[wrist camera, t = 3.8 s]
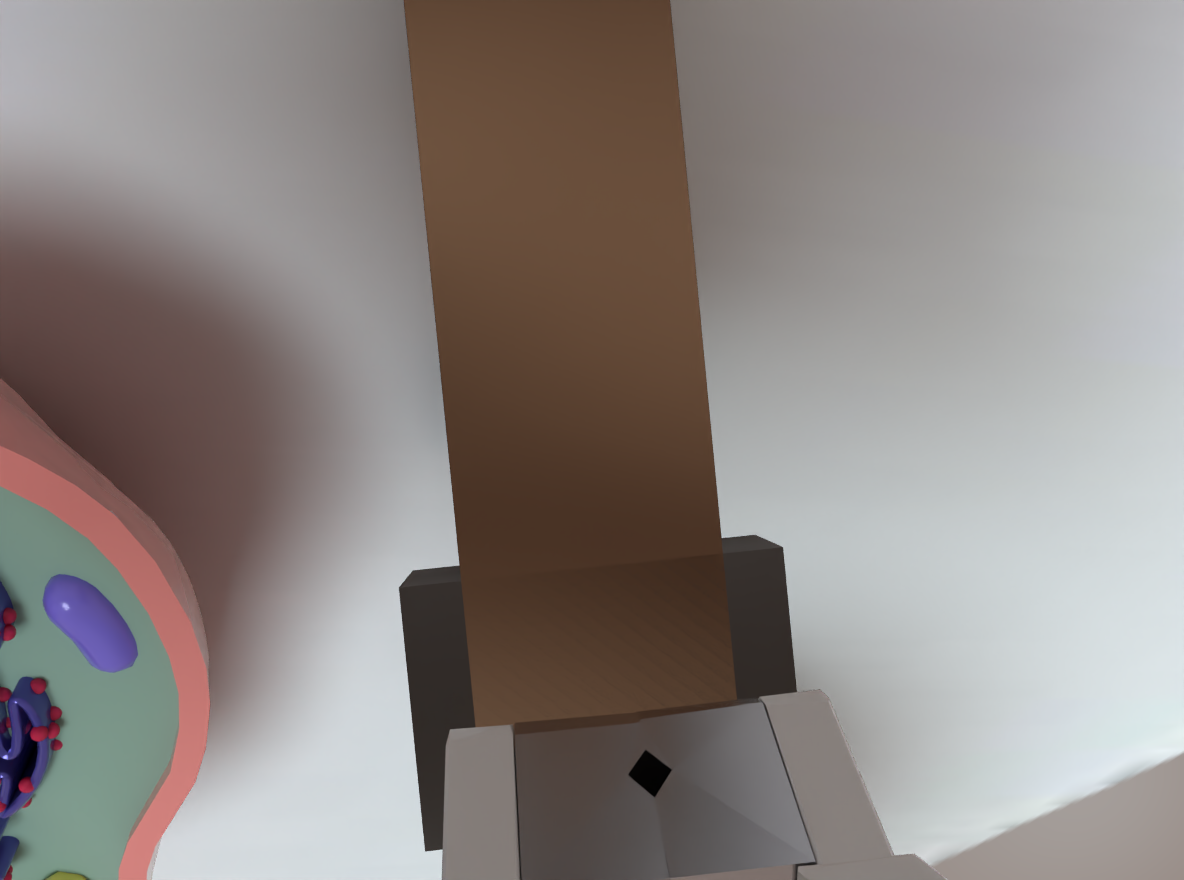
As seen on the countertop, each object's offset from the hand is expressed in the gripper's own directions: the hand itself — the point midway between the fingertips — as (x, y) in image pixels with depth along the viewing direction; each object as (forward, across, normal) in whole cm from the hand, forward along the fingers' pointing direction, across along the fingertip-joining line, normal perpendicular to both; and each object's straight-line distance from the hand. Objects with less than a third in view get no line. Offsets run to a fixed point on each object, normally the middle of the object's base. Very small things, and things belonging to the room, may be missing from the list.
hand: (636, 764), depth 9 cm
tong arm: (+9, 0, -6) cm, 10 cm away
